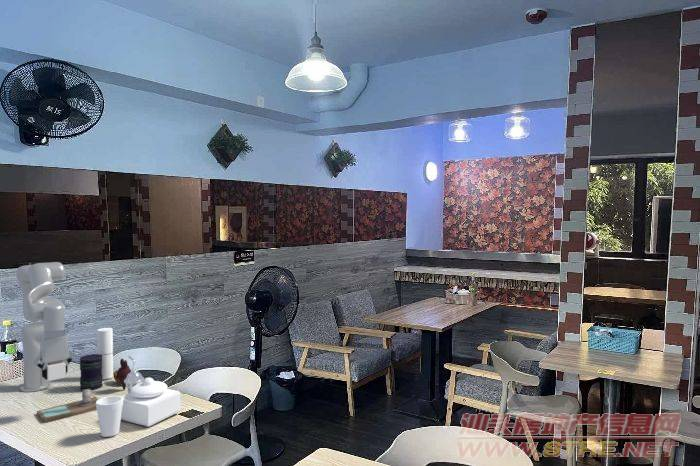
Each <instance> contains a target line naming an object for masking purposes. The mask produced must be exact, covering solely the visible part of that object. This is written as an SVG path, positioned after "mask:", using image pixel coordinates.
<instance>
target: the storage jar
mask: <svg viewBox="0 0 700 466" xmlns="http://www.w3.org/2000/svg"><path fill="white" fill-rule="evenodd" d="M102 366H103V365H102V355H100V354H98V353H93V354H92V353H91V354H86V355H83V356H80V357H79V370H80V377H79V385H80V390H81V391H83V390H85V389H90V390H91V391H96V390H99V389H101V388H102V387H103V381H104V379H103V378H102V377H103V376H102Z"/></svg>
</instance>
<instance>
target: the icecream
mask: <svg viewBox="0 0 700 466" xmlns="http://www.w3.org/2000/svg"><path fill="white" fill-rule="evenodd" d="M119 363H120V367H119V368H118V369H117V370H118V371H117V370H116V371H117V376H116V378H117V379H119V380H120V383H121V387H122V390H123V391H125V390H126V389H127V387H126V383H124V379H126V377H127V375H128V374H129V373H130V372H132V370H131V368H130V366H129V365H128V361H127V360H125V359H124V358H121V359H120V362H119Z"/></svg>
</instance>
